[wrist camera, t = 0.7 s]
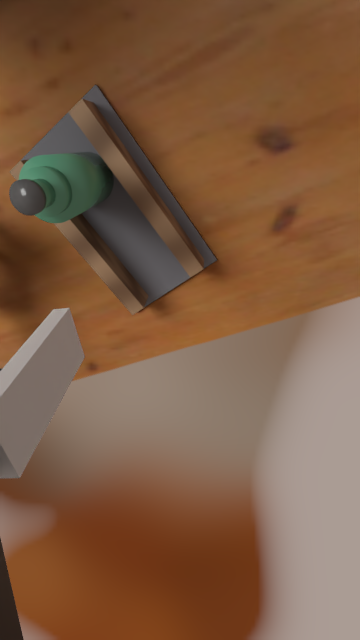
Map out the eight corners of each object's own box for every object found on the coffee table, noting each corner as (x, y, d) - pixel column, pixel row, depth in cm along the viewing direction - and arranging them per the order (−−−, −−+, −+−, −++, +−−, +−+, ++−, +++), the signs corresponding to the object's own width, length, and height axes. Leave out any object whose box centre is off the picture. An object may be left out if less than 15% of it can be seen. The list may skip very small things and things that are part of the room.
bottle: (56, 172, 37) (-26, 188, 24) (90, 140, 35) (22, 139, 22) (89, 213, 39) (29, 248, 26) (123, 184, 37) (77, 207, 24)
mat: (14, 168, 38) (12, 168, 37) (96, 85, 33) (95, 84, 33) (136, 311, 45) (136, 312, 45) (216, 259, 41) (216, 260, 40)
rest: (26, 169, 37) (9, 171, 34) (93, 102, 34) (81, 98, 30) (138, 302, 44) (132, 315, 41) (204, 259, 40) (203, 269, 37)
